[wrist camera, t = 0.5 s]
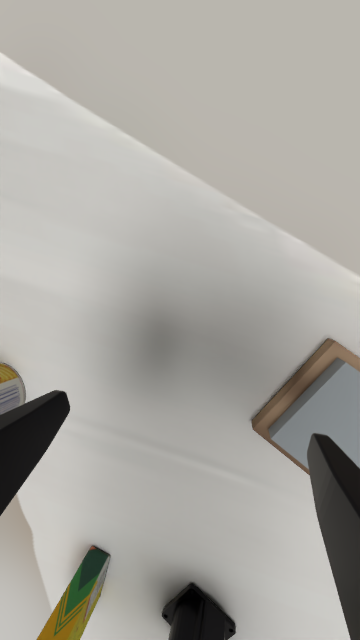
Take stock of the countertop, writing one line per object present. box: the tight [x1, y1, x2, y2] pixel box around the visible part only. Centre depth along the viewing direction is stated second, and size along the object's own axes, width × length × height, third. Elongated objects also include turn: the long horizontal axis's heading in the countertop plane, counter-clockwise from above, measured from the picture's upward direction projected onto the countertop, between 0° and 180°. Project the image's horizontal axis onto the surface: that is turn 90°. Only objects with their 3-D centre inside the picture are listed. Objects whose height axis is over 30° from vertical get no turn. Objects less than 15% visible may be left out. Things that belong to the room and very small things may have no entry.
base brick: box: [252, 338, 360, 475], centre depth 20 cm, size 11×13×2 cm
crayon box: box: [37, 546, 110, 640], centre depth 24 cm, size 7×3×12 cm, turn 165°
